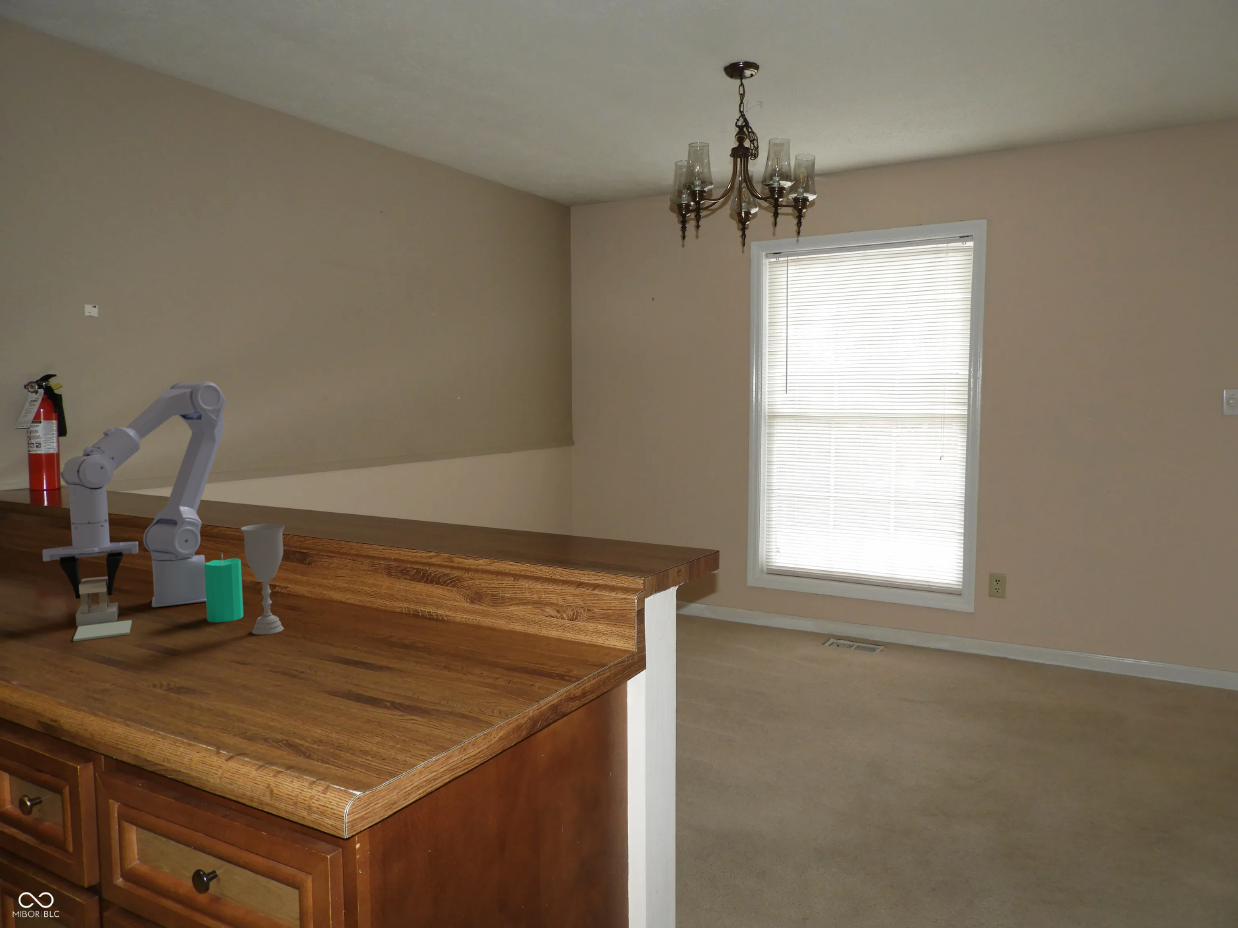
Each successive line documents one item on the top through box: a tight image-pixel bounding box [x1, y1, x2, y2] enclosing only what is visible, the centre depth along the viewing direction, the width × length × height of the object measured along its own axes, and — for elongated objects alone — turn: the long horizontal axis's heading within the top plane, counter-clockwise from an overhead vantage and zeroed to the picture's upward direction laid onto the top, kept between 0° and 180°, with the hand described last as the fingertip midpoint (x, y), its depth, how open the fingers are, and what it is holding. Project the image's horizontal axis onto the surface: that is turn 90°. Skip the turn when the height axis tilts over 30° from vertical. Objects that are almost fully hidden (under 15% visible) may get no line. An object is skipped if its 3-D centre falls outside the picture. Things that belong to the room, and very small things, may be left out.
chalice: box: [240, 523, 286, 635], centre depth 142 cm, size 7×7×18 cm
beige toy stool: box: [79, 576, 110, 614], centre depth 150 cm, size 6×4×5 cm, turn 28°
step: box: [75, 602, 119, 627], centre depth 151 cm, size 6×7×2 cm
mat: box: [72, 619, 133, 642], centre depth 143 cm, size 8×9×1 cm
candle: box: [204, 552, 244, 623], centre depth 150 cm, size 6×6×12 cm
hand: (94, 595), depth 150 cm, fingers open, 4 cm apart
